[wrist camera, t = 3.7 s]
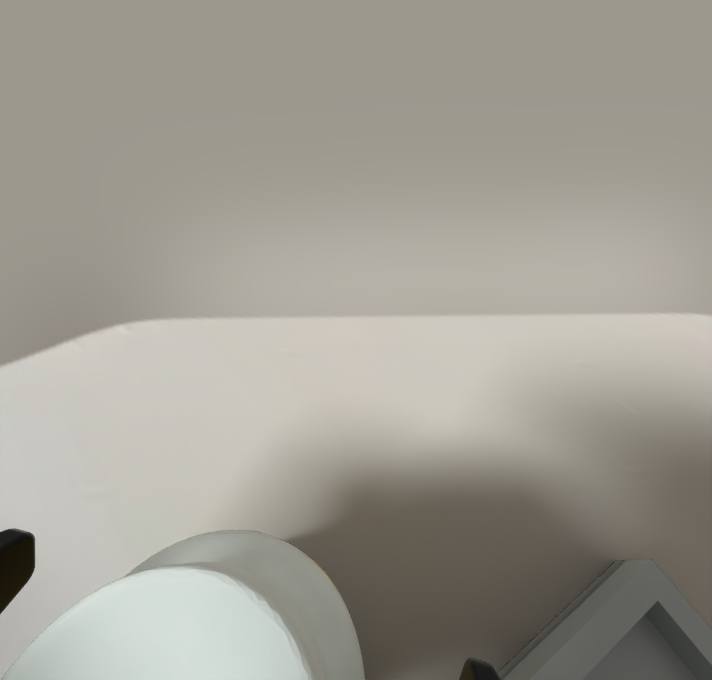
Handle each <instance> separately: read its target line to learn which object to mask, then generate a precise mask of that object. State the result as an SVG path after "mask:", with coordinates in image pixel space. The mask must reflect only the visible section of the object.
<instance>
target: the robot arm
mask: <svg viewBox="0 0 712 680" xmlns="http://www.w3.org/2000/svg"><path fill="white" fill-rule="evenodd" d="M34 568H35V537H34V535H33V534H32V533H30V532H26V531H23V530H19V529H8V530H5V531H2V532H0V614H1V613H2V611H3V610H4V609H5V608H6V607H7V606H8V604H9V603H10V602H11V601H12V600H13V598H14V597H15V596H16V595H17V594H18V593H19V591H20V590H21V589H22V588H23V587H24V585H25V584H26V583H27V582H28V580H29V579H30V577H31V576H32V574H33V572H34ZM459 680H500V678H499V676H498V674H497V673H496V671H495V669H494V668H493V667H492V666H491V665H490V664H489V663H487V662H484V661H480V660H477V659H473V658H469V659H467V660H466V662H465V665H464V667H463V670H462V673H461V676H460V678H459Z"/></svg>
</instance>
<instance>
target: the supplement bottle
mask: <svg viewBox="0 0 712 680" xmlns="http://www.w3.org/2000/svg"><path fill="white" fill-rule="evenodd" d="M1 680H365V675H364V667H363V660H362V655H361V650H360V646H359V642H358V638H357V634H356V630H355V627H354V625H353V622H352V619H351V617H350V614H349V611H348V609H347V607H346V604H345V602H344V600H343V598H342V596H341V595H340V593H339V591H338V590H337V588H336V586H335V585H334V583H333V581H332V580H331V579H330V577H329V576H328V574H327V573H326V572H325V571H324V570H323V569H322V568H321V567H320V566H319V565H318V564H317V563H316V562H315V561H313V560H312V559H311V558H309V557H308V556H307V555H306V554H305V553H303V552H302V551H300V550H299V549H298V548H296V547H294V546H293V545H291V544H289V543H287V542H285V541H282V540H280V539H278V538H275V537H273V536H270V535H267V534H264V533H261V532H256V531H245V530H225V531H216V532H210V533H204V534H201V535H197V536H194V537H191V538H188V539H185V540H183V541H180V542H178V543H176V544H174V545H171V546H169V547H167V548H165V549H163V550H162V551H160V552H158V553H156V554H155V555H153V556H151V557H150V558H149V559H147V560H146V561H144V562H143V563H141V564H140V565H139V566H137V567H136V568H134V569H133V570H132V571H131V572H130V573H129V574H127V575H126V576H125V577H123V578H120V579H118V580H116V581H114V582H112V583H109V584H107V585H105V586H103V587H102V588H100V589H98V590H96V591H95V592H93V593H92V594H90V595H89V596H87V597H86V598H84V599H83V600H81V601H79V602H78V603H76V604H75V605H73V606H72V607H71V608H70V609H68V610H67V611H66V612H64V613H63V614H62V615H61V616H60V617H58V618H57V619H56V620H55V621H54V622H53V623H52V624H50V625H49V626H48V627H47V628H46V629H45V630H44V631H43V632H42V633H41V634H40V635H39V636H38V637H37V638H36V639H35V640H34V641H33V642H32V643H31V644H30V645H29V646H28V647H27V648H26V650H25V651H24V652H23V653H22V654H21V655H20V656H19V658H18V659H17V660H16V661H15V662H14V664H13V665H12V666H11V667H10V668H9V670H8V671H7V672H6V674H5V675H4V676H3V678H2V679H1Z"/></svg>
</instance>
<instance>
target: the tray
mask: <svg viewBox="0 0 712 680" xmlns="http://www.w3.org/2000/svg"><path fill="white" fill-rule="evenodd" d="M497 674H498V676H499V678H500V680H712V628H711V627H710V626H709V625H708V624H707V623H706V621H705V620H704V619H703V618H702V617H701V616H700V614H699V613H698V612H697V611H696V610H695V609H694V607H693V606H692V605H691V604H690V603H689V602H688V600H687V599H686V598H685V597H684V596H683V595H682V594H681V592H680V591H679V590H678V589H677V588H676V587H675V585H674V584H673V583H672V582H671V581H670V580H669V578H668V577H667V576H666V575H665V574H664V573H663V571H662V570H661V569H660V568H659V567H658V566H657V565H656V563H655V562H654V561H653V560H652V559H640V560H616V561H615V562H614V563H613V564H612V565H611V566H610V567H609V568H608V569H607V570H606V571H605V572H604V573H603V574H602V575H601V576H599V577H598V578H597V579H596V580H595V581H594V582H593V583H592V584H591V585H590V586H589V587H588V588H587V589H586V590H585V591H584V592H583V593H582V594H580V595H579V596H578V597H577V598H576V599H575V600H574V601H573V602H572V603H571V604H570V605H569V606H568V607H567V608H566V609H565V610H564V611H562V612H561V613H560V614H559V615H558V616H557V617H556V618H555V619H554V620H553V621H552V622H551V623H550V624H549V625H548V626H547V627H546V628H544V629H543V630H542V631H541V632H540V633H539V634H538V635H537V636H536V637H535V638H534V639H533V640H532V641H531V642H530V643H529V644H528V645H527V646H525V647H524V648H523V649H522V650H521V651H520V652H519V653H518V654H517V655H516V656H515V657H514V658H513V659H512V660H511V661H510V662H509V663H507V664H506V665H505V666H504V667H503V668H502V669H501V670H500V671H499V672H498V673H497Z"/></svg>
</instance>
